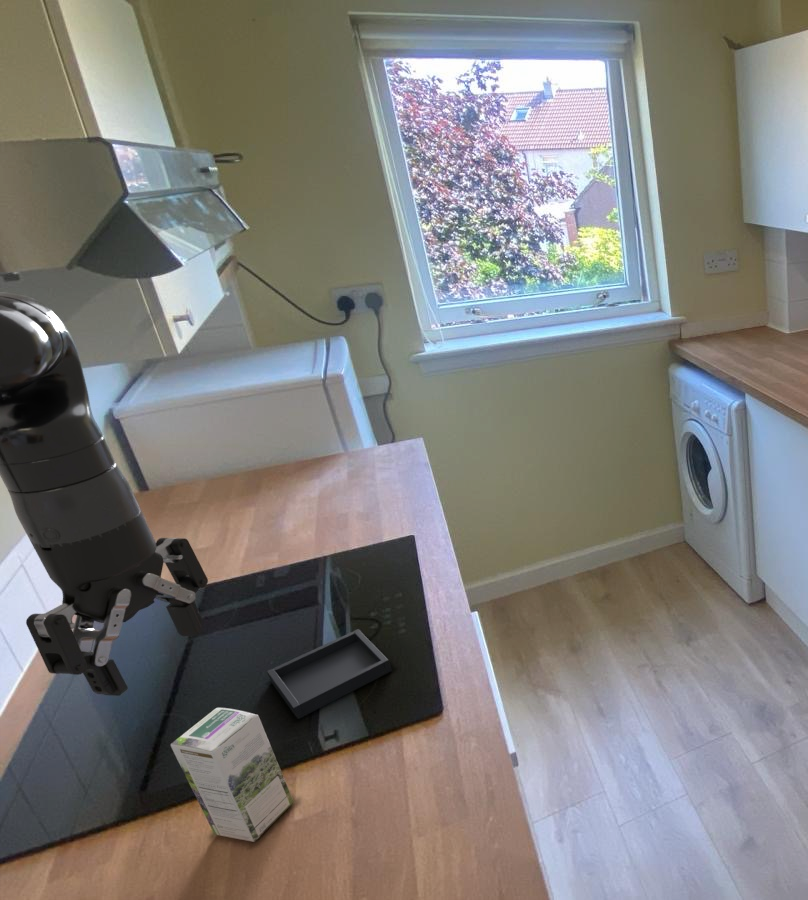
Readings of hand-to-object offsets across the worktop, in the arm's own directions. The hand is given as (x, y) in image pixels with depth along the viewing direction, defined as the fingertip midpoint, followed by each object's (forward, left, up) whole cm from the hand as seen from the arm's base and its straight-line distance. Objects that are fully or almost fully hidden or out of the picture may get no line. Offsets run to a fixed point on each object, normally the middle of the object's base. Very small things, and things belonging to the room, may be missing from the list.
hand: (155, 662), depth 72 cm
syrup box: (+2, +3, -27) cm, 27 cm away
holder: (+17, +23, -26) cm, 39 cm away
